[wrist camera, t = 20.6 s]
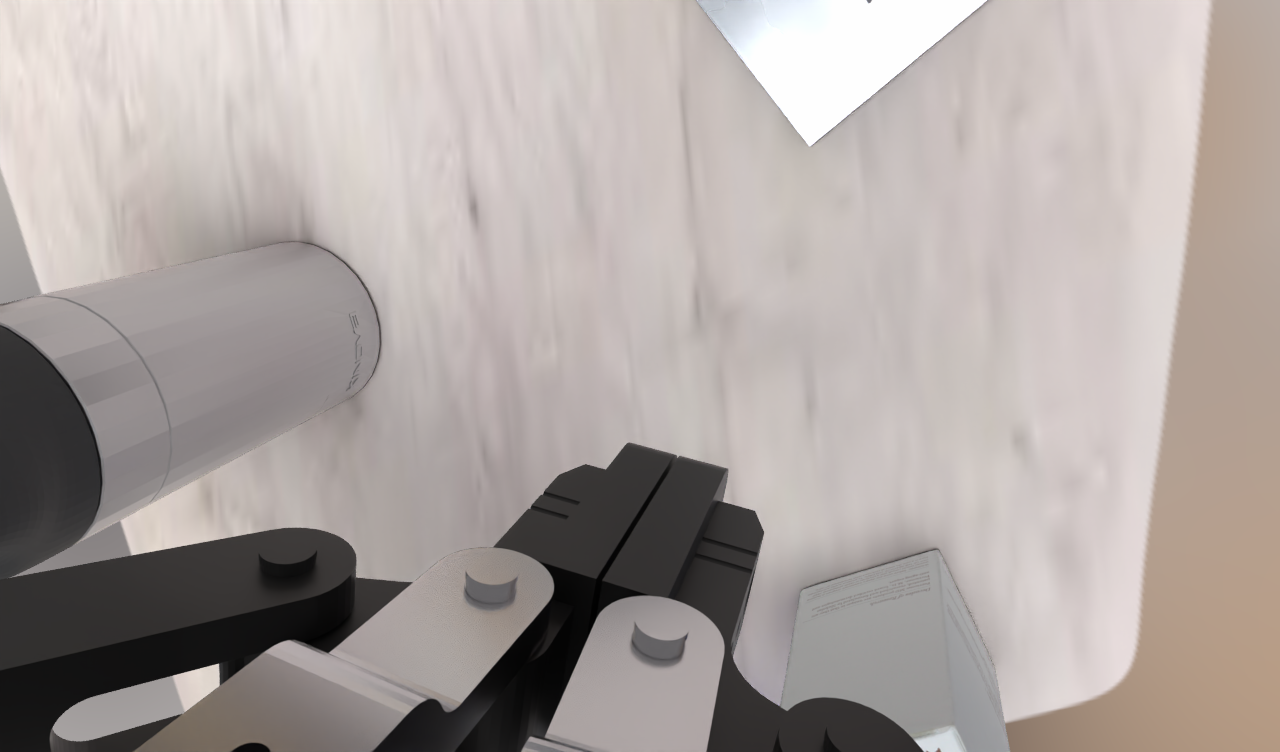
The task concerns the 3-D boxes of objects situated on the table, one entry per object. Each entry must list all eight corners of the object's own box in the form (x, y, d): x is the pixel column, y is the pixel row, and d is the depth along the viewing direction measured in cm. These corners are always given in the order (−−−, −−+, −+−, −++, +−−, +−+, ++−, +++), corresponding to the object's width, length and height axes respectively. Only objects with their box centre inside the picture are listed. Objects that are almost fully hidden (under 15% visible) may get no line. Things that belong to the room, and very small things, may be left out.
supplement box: (796, 586, 42) (760, 767, 31) (940, 544, 39) (960, 725, 28) (855, 706, 43) (841, 924, 32) (999, 673, 41) (1042, 899, 29)
